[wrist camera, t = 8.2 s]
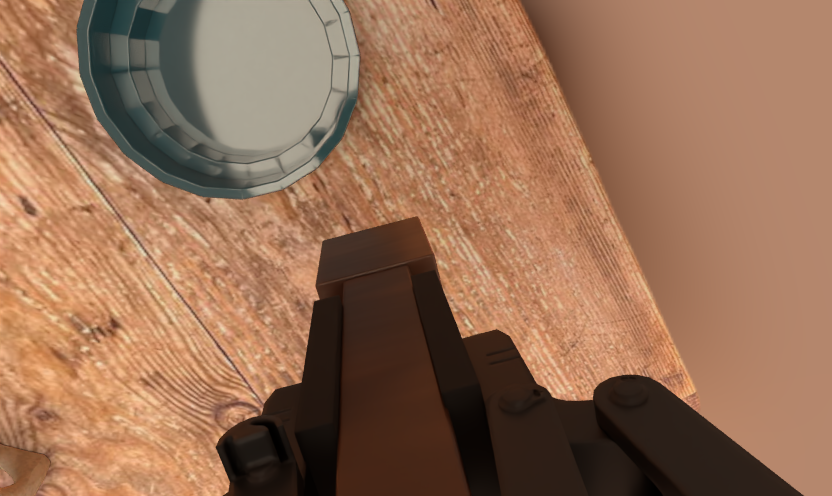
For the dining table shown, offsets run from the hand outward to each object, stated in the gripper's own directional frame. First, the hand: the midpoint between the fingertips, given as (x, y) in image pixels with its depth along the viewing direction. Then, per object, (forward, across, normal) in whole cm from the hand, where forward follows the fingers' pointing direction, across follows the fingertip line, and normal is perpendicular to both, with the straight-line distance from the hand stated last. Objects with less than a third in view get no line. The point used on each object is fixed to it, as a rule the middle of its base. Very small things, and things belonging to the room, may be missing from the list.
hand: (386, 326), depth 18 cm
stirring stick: (+7, 0, 0) cm, 7 cm away
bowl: (+23, -6, +9) cm, 25 cm away
